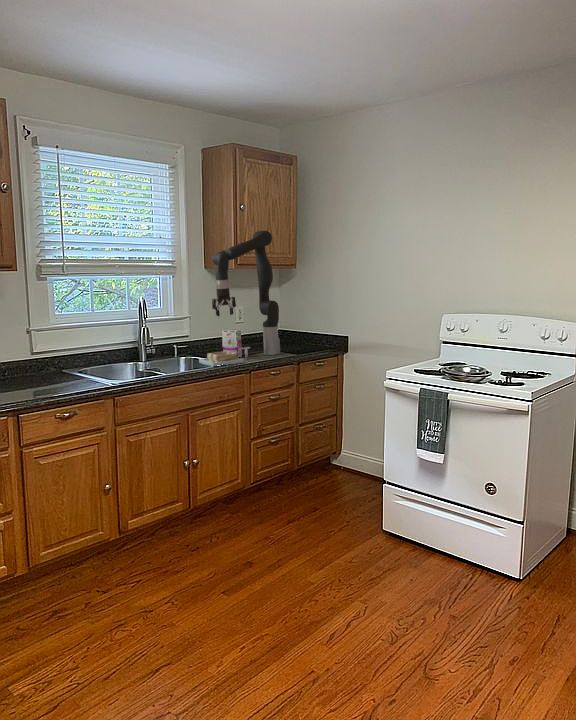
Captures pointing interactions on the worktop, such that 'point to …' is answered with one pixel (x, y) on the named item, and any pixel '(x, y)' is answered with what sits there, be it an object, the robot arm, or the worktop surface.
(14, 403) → the worktop surface
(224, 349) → the candy bar box
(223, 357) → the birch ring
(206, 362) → the tray
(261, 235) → the robot arm
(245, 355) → the steel T-stake
